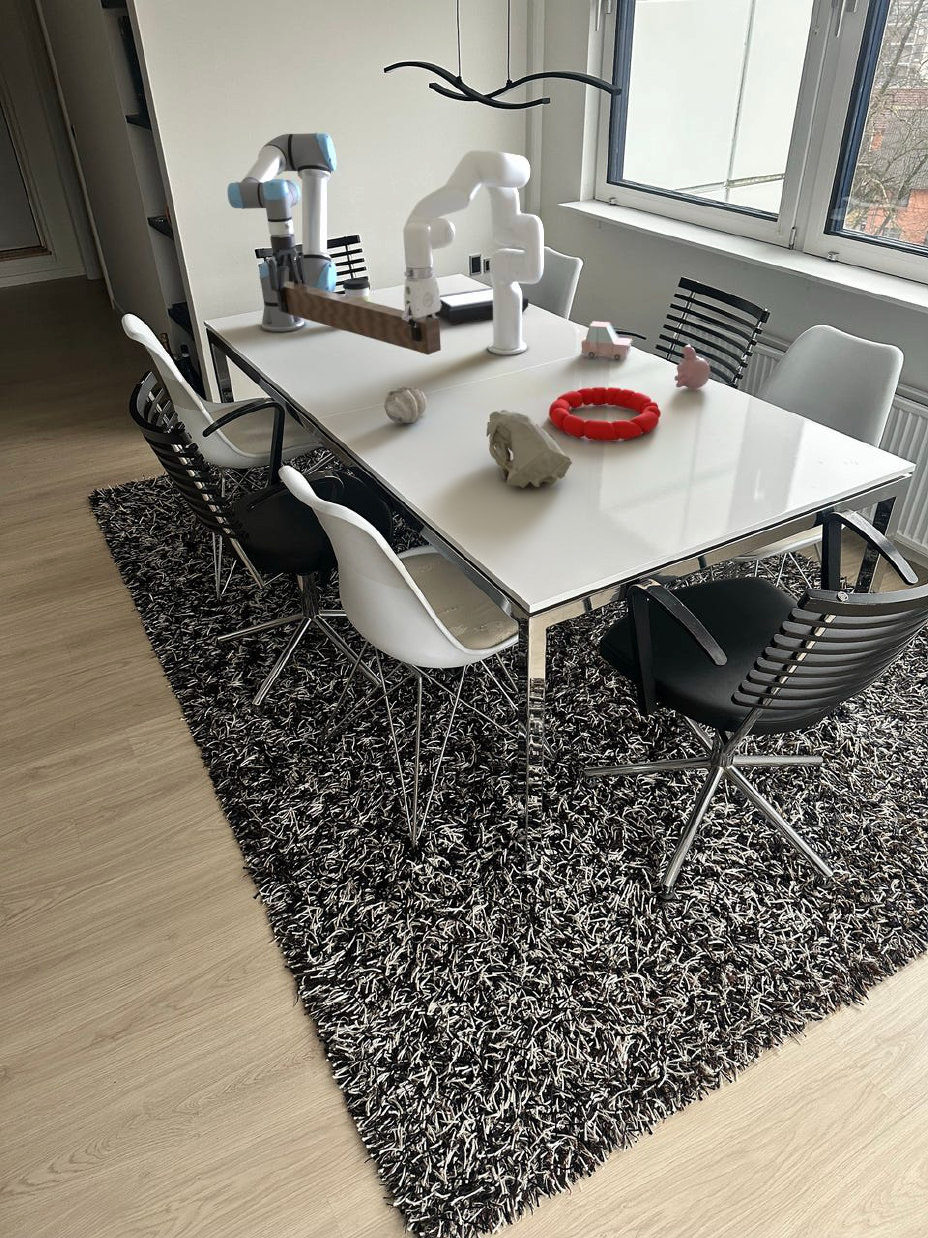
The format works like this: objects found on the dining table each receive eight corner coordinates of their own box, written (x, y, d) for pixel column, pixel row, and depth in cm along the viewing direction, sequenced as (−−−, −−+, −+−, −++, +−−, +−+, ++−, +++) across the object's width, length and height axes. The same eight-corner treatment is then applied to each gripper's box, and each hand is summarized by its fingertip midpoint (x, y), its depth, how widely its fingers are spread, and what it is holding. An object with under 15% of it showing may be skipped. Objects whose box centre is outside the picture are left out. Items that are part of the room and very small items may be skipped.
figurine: (665, 387, 264) (669, 347, 257) (693, 380, 268) (698, 340, 261) (686, 396, 257) (690, 355, 250) (714, 388, 262) (720, 348, 255)
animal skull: (496, 517, 219) (521, 479, 201) (463, 429, 225) (484, 384, 207) (557, 503, 225) (586, 465, 206) (523, 417, 231) (549, 373, 212)
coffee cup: (372, 326, 323) (368, 283, 314) (345, 327, 323) (340, 284, 315) (374, 318, 331) (371, 276, 322) (348, 319, 331) (344, 277, 323)
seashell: (375, 421, 248) (372, 387, 243) (423, 410, 254) (421, 376, 248) (391, 434, 241) (388, 398, 235) (439, 422, 246) (438, 387, 241)
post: (279, 311, 295) (275, 284, 290) (291, 307, 297) (287, 280, 292) (428, 354, 253) (426, 323, 248) (440, 350, 256) (439, 319, 251)
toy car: (626, 362, 283) (628, 330, 277) (579, 358, 288) (580, 327, 282) (632, 353, 290) (634, 322, 285) (586, 349, 295) (588, 318, 289)
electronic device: (448, 308, 317) (427, 295, 332) (449, 326, 320) (428, 312, 335) (528, 296, 327) (504, 284, 342) (528, 313, 330) (504, 301, 346)
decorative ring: (589, 435, 224) (684, 402, 234) (527, 398, 247) (617, 369, 256) (589, 461, 229) (683, 427, 238) (529, 422, 251) (617, 393, 260)
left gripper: (265, 241, 272) (276, 318, 286) (312, 230, 283) (321, 305, 296) (251, 238, 277) (262, 313, 290) (297, 227, 287) (306, 301, 301)
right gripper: (406, 280, 238) (411, 348, 248) (451, 267, 248) (453, 333, 258) (387, 276, 242) (392, 342, 253) (432, 263, 252) (435, 328, 262)
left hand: (292, 309), depth 293 cm, fingers closed on post, 5 cm apart
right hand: (423, 337), depth 255 cm, fingers closed on post, 5 cm apart
